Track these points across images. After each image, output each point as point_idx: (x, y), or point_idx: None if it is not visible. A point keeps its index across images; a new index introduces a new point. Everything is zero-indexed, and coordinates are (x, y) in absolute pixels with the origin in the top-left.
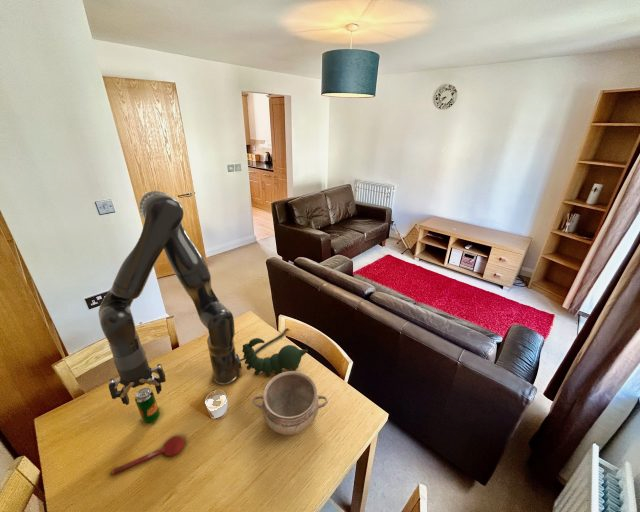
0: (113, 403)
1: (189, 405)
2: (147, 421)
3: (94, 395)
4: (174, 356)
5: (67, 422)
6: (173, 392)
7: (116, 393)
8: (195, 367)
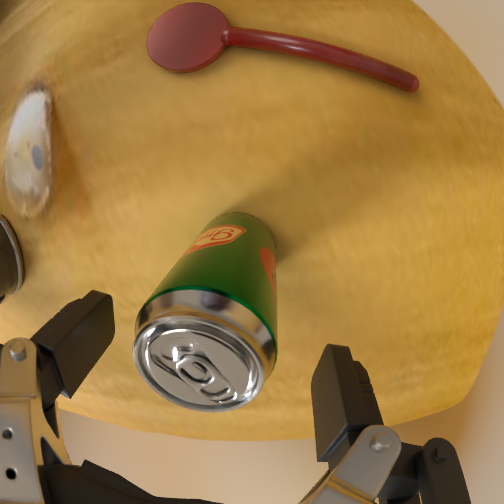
0: None
1: (93, 202)
2: (257, 222)
3: None
4: (140, 426)
5: (441, 382)
6: None
7: (409, 485)
8: None
